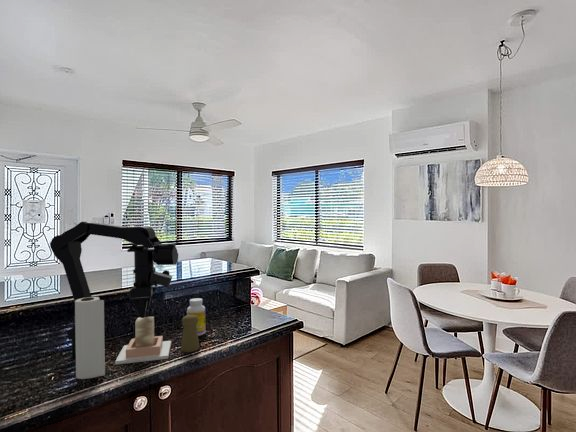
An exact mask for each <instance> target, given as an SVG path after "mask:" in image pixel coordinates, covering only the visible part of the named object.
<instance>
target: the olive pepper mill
mask: <svg viewBox="0 0 576 432" xmlns="http://www.w3.org/2000/svg"><path fill="white" fill-rule="evenodd" d="M197 323H198V317H197V316H196V315H187V314H186V315H184V316H183V317H182V319H181V324H182V326H183V330H182V339H181V345H180V347H181V348H180V351H182V352H183V353H192V352H196V351H198V350H200V341H199V340H200V339H199V336H198V333H197V326H196V325H197Z"/></svg>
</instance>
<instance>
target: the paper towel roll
mask: <svg viewBox="0 0 576 432" xmlns="http://www.w3.org/2000/svg"><path fill="white" fill-rule="evenodd" d="M104 313H105V299H100V297H98V296H92V297H87V298H81V299H77V300H75V301H74V315H75V320H74V326H75V337H76V358H75V377H76V379H78V380H86V379H93V378H98V377H102V376H106V362H105V360H106V358H105V356H106V355H105V354H106V353H105V351H106V350H105V315H104Z"/></svg>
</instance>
